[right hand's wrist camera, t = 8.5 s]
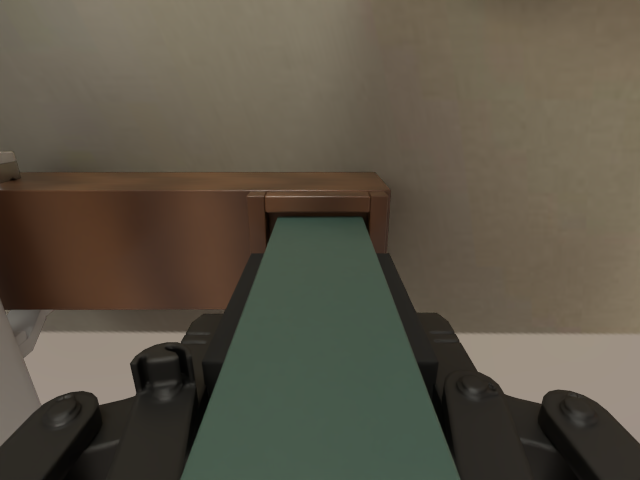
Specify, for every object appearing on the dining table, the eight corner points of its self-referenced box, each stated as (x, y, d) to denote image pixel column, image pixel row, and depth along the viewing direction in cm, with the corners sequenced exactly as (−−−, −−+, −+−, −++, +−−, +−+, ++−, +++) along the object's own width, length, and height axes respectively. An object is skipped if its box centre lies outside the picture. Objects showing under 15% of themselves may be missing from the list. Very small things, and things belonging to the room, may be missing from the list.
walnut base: (7, 270, 24) (-87, 320, 19) (-25, 172, 22) (-142, 195, 16) (370, 270, 24) (386, 319, 19) (375, 172, 22) (395, 194, 16)
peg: (280, 291, 19) (187, 741, 5) (277, 215, 17) (140, 575, 4) (359, 291, 19) (453, 741, 5) (362, 215, 17) (499, 576, 4)
